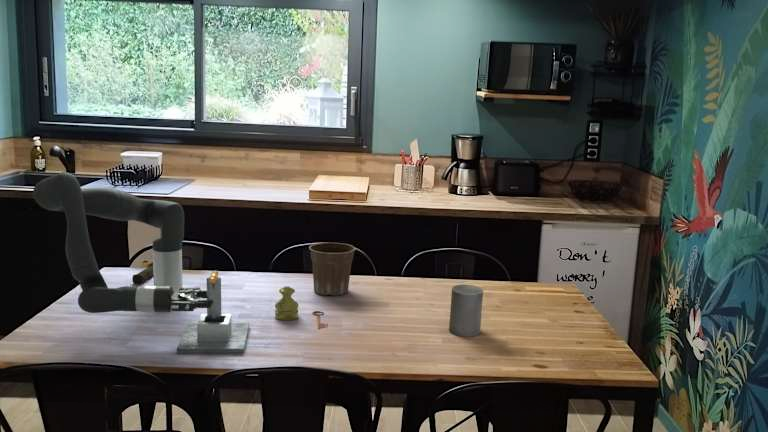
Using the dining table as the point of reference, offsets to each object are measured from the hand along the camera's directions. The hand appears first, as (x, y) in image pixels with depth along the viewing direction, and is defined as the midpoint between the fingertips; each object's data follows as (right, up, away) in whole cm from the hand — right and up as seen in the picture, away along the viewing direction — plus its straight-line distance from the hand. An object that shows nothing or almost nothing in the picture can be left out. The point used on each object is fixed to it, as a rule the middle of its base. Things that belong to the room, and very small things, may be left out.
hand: (212, 299), depth 209 cm
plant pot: (+30, -3, +52) cm, 60 cm away
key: (+29, -10, +22) cm, 38 cm away
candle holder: (0, -12, +2) cm, 13 cm away
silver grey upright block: (0, -11, +2) cm, 11 cm away
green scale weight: (+18, -9, +24) cm, 31 cm away
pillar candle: (+74, -12, +17) cm, 77 cm away
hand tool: (-38, +1, +60) cm, 72 cm away
